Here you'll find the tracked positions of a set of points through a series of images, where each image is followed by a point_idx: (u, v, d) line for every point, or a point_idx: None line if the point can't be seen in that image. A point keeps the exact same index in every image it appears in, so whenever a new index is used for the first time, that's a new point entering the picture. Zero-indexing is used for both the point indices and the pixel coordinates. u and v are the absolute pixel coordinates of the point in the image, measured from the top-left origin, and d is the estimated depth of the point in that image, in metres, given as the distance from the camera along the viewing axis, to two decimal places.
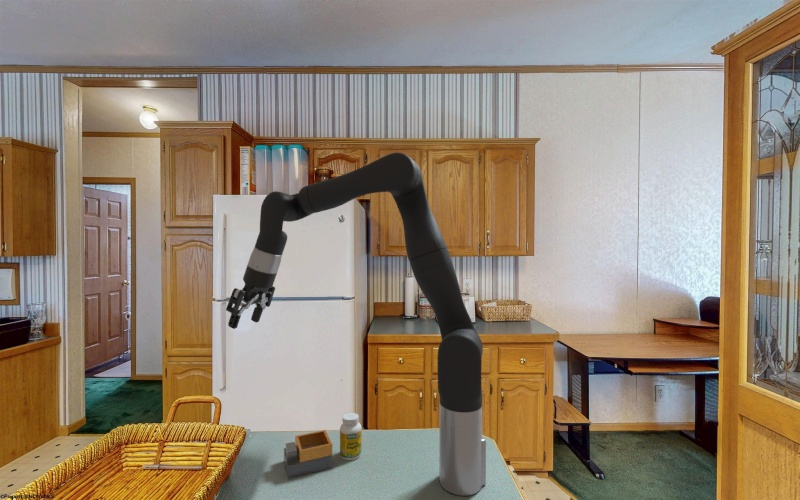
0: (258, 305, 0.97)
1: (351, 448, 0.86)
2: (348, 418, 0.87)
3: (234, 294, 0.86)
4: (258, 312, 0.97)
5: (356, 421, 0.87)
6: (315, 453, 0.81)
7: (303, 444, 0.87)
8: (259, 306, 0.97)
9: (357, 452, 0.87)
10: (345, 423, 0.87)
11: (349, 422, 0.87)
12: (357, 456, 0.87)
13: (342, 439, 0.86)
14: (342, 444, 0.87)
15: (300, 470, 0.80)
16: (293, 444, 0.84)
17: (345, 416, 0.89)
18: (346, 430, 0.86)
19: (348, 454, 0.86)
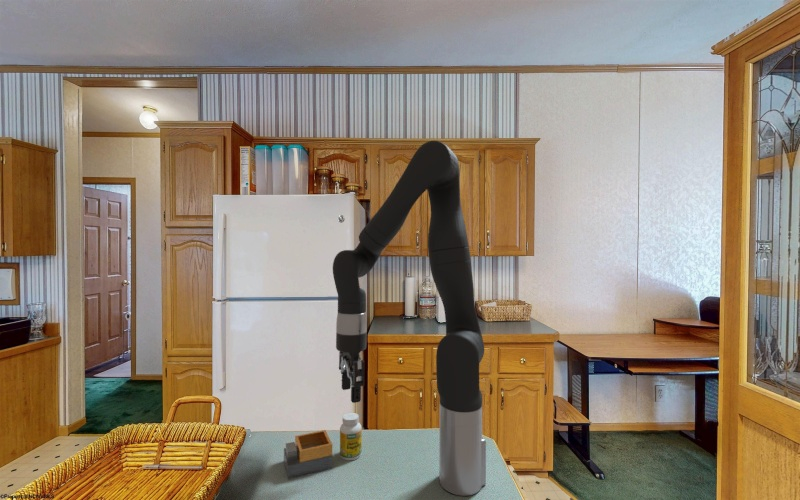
0: (345, 371, 0.92)
1: (351, 448, 0.86)
2: (348, 418, 0.87)
3: (357, 367, 0.82)
4: (348, 378, 0.92)
5: (356, 421, 0.87)
6: (315, 453, 0.81)
7: (303, 444, 0.87)
8: (346, 372, 0.92)
9: (357, 452, 0.87)
10: (345, 423, 0.87)
11: (349, 422, 0.87)
12: (357, 456, 0.87)
13: (342, 439, 0.86)
14: (342, 444, 0.87)
15: (300, 470, 0.80)
16: (293, 444, 0.84)
17: (345, 416, 0.89)
18: (346, 430, 0.86)
19: (348, 454, 0.86)
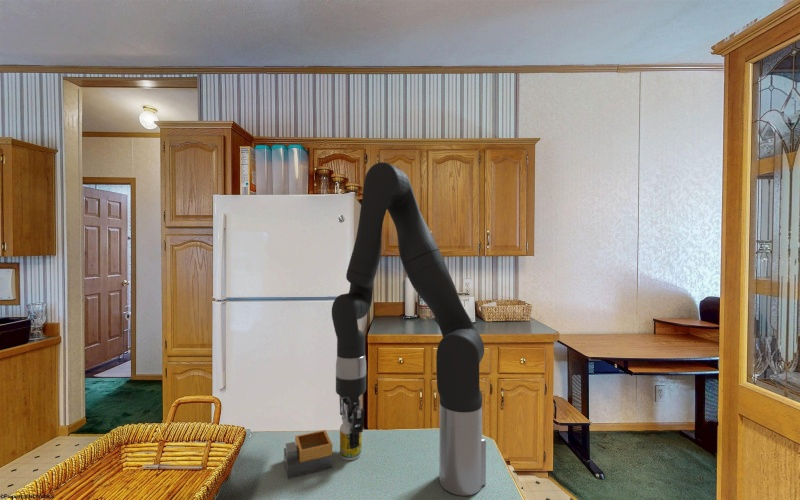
0: None
1: (351, 448, 0.86)
2: None
3: (357, 416, 0.82)
4: None
5: None
6: (315, 453, 0.81)
7: (303, 444, 0.87)
8: None
9: (357, 452, 0.87)
10: (345, 423, 0.87)
11: None
12: (357, 456, 0.87)
13: (342, 439, 0.86)
14: (342, 444, 0.87)
15: (300, 470, 0.80)
16: (293, 444, 0.84)
17: (345, 416, 0.89)
18: (346, 430, 0.86)
19: (348, 454, 0.86)
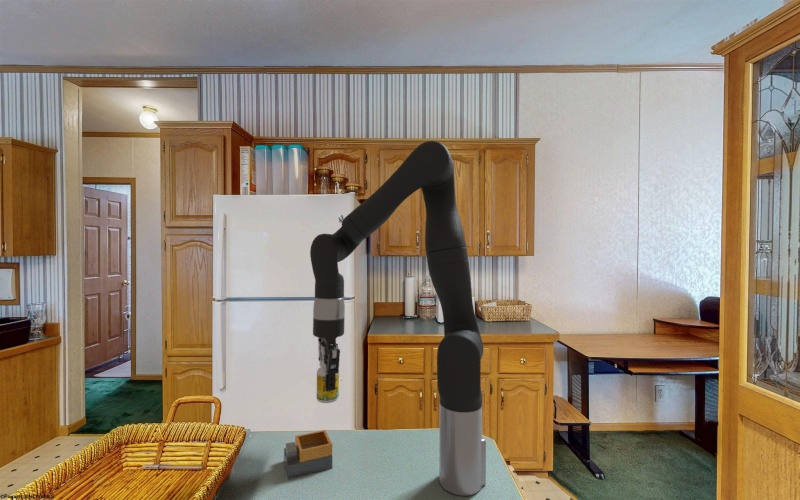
0: None
1: (327, 391, 0.84)
2: None
3: (332, 356, 0.81)
4: None
5: None
6: (315, 453, 0.81)
7: (303, 444, 0.87)
8: None
9: (334, 395, 0.85)
10: (322, 365, 0.85)
11: None
12: (333, 399, 0.85)
13: (318, 382, 0.85)
14: (318, 387, 0.85)
15: (300, 470, 0.80)
16: (293, 444, 0.84)
17: (322, 359, 0.87)
18: (322, 372, 0.85)
19: (324, 396, 0.84)
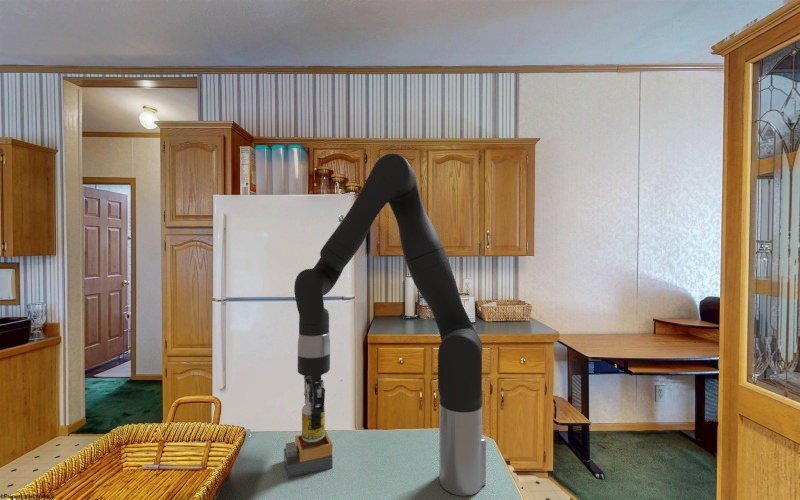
0: None
1: (313, 430, 0.82)
2: None
3: (317, 395, 0.79)
4: None
5: None
6: (315, 453, 0.81)
7: (303, 444, 0.87)
8: None
9: (320, 433, 0.83)
10: (307, 403, 0.83)
11: None
12: (319, 438, 0.83)
13: (304, 420, 0.83)
14: (303, 425, 0.83)
15: (300, 470, 0.80)
16: (293, 444, 0.84)
17: (307, 397, 0.85)
18: (307, 411, 0.83)
19: (309, 435, 0.82)
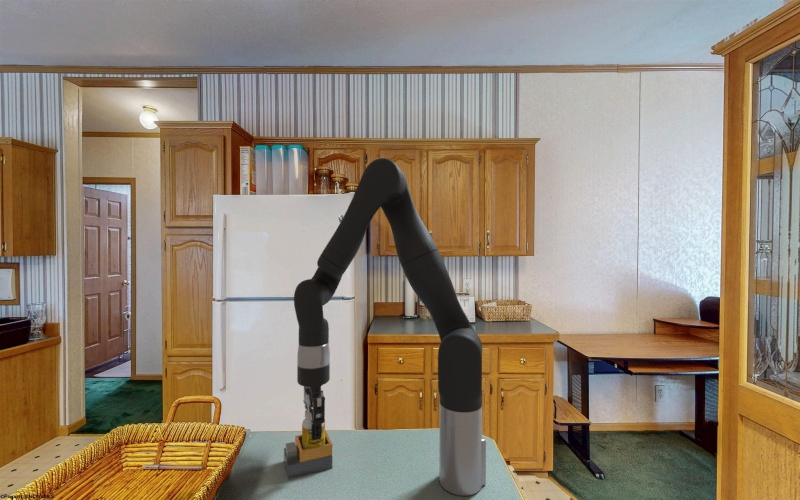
0: None
1: (313, 444, 0.82)
2: None
3: (317, 404, 0.79)
4: None
5: None
6: (315, 453, 0.81)
7: None
8: None
9: None
10: (307, 417, 0.83)
11: None
12: None
13: (304, 434, 0.83)
14: (303, 439, 0.83)
15: (300, 470, 0.80)
16: (293, 444, 0.84)
17: None
18: (307, 425, 0.83)
19: None
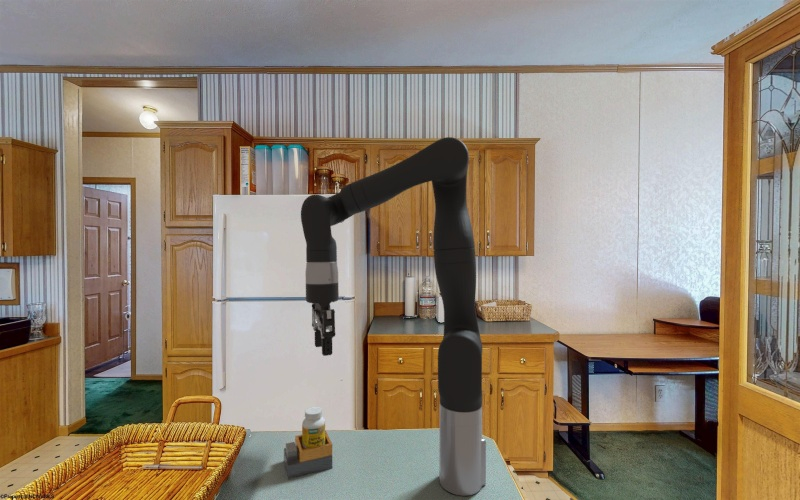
0: (317, 328, 0.87)
1: (313, 444, 0.82)
2: (310, 413, 0.84)
3: (327, 316, 0.77)
4: None
5: (319, 415, 0.84)
6: (315, 453, 0.81)
7: None
8: None
9: None
10: (307, 417, 0.83)
11: (311, 417, 0.83)
12: None
13: (304, 434, 0.83)
14: (303, 439, 0.83)
15: (300, 470, 0.80)
16: (293, 444, 0.84)
17: (308, 410, 0.85)
18: (308, 425, 0.83)
19: None
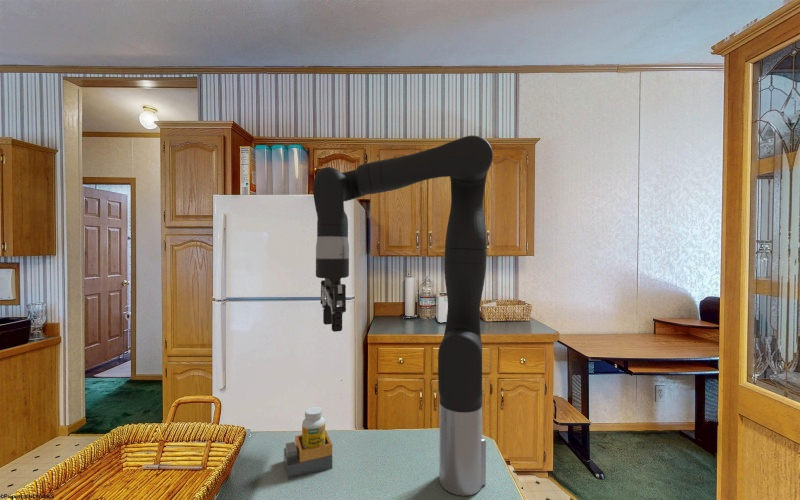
0: (326, 305, 0.85)
1: (313, 444, 0.82)
2: (310, 413, 0.84)
3: (338, 290, 0.75)
4: (330, 312, 0.86)
5: (319, 415, 0.84)
6: (315, 453, 0.81)
7: None
8: (328, 305, 0.86)
9: None
10: (307, 417, 0.83)
11: (311, 417, 0.83)
12: None
13: (304, 434, 0.83)
14: (303, 439, 0.83)
15: (300, 470, 0.80)
16: (293, 444, 0.84)
17: (308, 410, 0.85)
18: (308, 425, 0.83)
19: None
